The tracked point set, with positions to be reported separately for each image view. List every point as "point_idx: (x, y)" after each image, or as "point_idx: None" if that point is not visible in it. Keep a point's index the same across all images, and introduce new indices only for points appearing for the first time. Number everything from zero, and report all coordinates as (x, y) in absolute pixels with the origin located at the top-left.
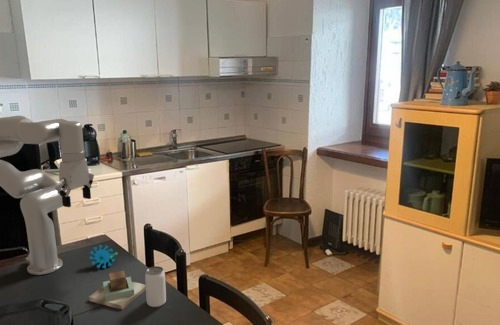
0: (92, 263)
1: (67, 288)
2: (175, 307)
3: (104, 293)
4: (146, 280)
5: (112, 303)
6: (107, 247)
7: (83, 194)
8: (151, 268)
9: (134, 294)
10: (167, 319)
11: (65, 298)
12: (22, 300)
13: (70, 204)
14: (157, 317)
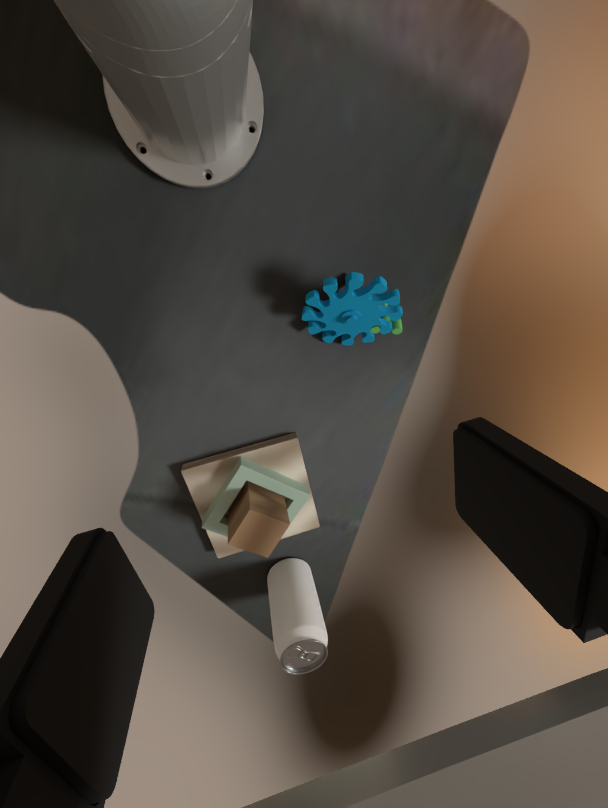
0: (302, 316)
1: (171, 354)
2: None
3: (216, 498)
4: (274, 636)
5: (208, 535)
6: (394, 304)
7: (488, 463)
8: (310, 638)
9: None
10: (258, 626)
11: (138, 403)
12: (13, 299)
13: (139, 644)
14: (250, 612)
